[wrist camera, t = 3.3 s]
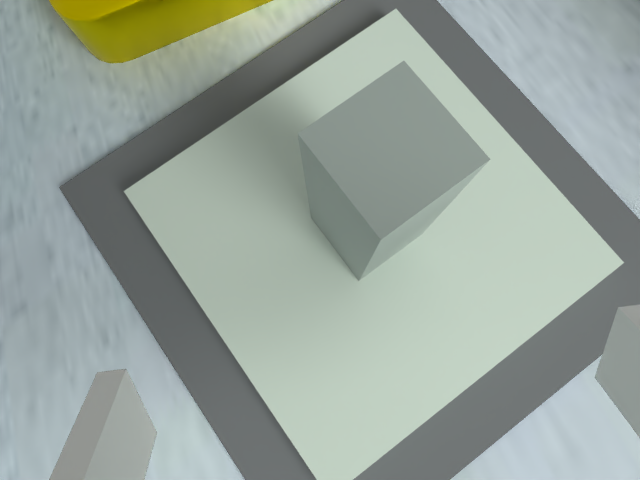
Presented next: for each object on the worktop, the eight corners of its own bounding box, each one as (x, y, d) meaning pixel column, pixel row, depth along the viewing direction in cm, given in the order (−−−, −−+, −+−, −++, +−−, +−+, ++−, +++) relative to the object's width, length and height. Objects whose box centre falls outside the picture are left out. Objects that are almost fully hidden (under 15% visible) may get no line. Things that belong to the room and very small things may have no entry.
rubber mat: (400, -33, 28) (401, -38, 27) (687, 279, 23) (693, 278, 23) (63, 189, 25) (59, 187, 25) (315, 585, 21) (315, 590, 20)
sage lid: (393, 22, 26) (436, -192, 16) (609, 266, 23) (850, 207, 12) (133, 197, 25) (-20, 91, 14) (329, 489, 21) (328, 647, 11)
